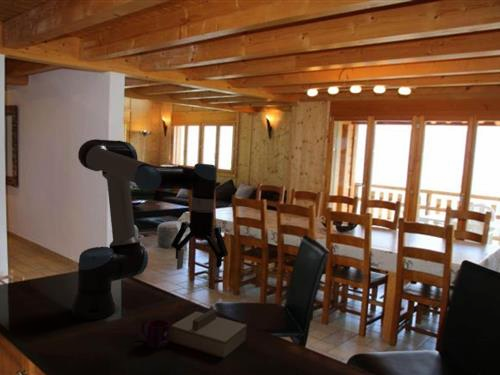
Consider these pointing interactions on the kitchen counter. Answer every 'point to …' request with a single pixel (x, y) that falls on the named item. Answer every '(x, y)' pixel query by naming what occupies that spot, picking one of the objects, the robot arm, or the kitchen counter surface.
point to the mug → (157, 333)
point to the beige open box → (207, 342)
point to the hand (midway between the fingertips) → (197, 272)
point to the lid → (209, 326)
